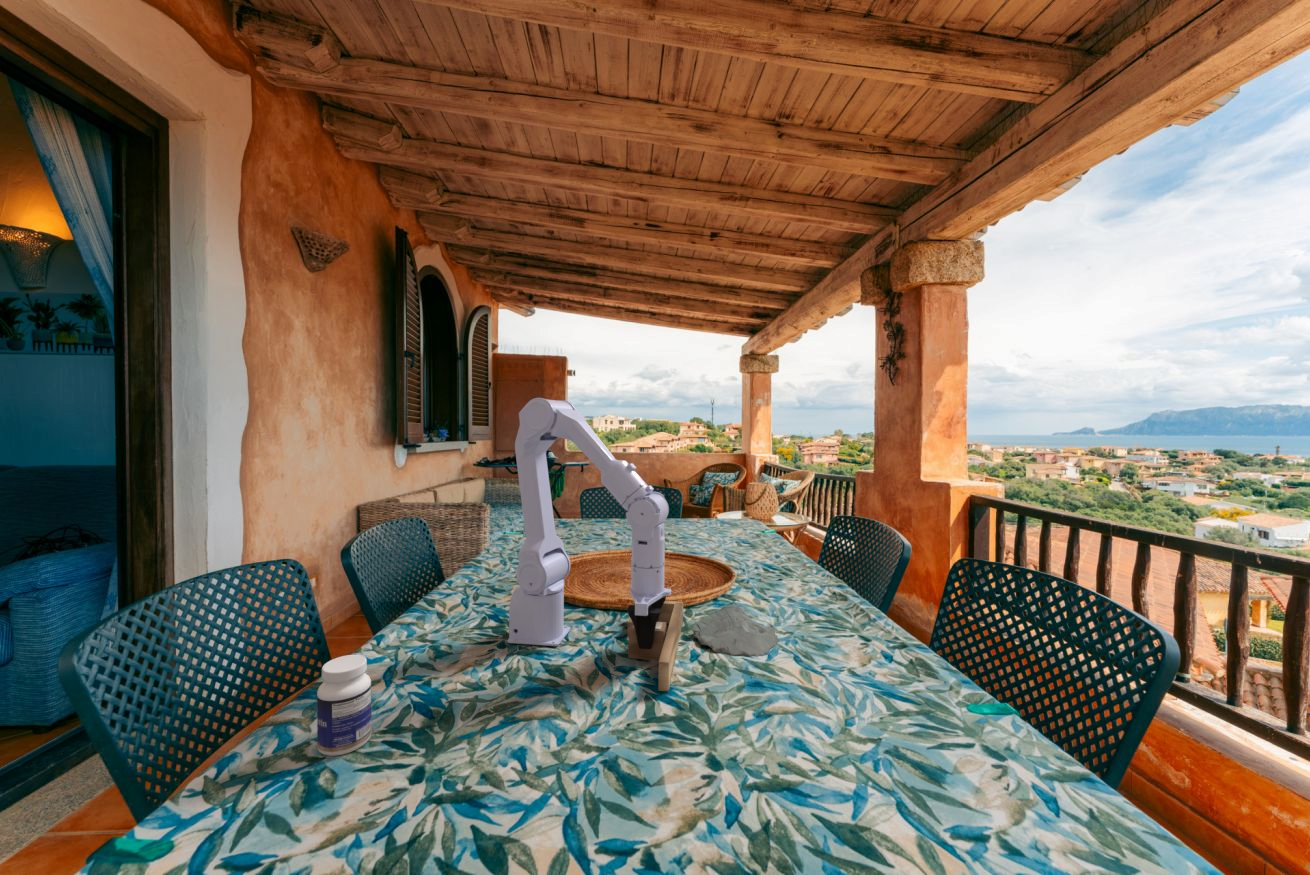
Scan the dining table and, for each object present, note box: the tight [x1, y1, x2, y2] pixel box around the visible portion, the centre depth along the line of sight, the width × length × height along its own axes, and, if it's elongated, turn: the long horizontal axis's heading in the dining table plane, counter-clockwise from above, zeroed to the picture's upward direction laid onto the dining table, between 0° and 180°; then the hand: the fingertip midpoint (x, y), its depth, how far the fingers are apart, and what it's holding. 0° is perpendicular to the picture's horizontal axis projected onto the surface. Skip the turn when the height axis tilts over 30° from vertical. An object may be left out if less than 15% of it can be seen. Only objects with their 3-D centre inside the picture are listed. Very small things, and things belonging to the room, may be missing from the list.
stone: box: [692, 604, 779, 658], centre depth 94 cm, size 16×4×15 cm
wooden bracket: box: [626, 600, 684, 692], centre depth 89 cm, size 10×28×4 cm, turn 172°
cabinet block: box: [627, 622, 667, 661], centre depth 88 cm, size 6×4×5 cm, turn 82°
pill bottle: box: [316, 654, 373, 757], centre depth 62 cm, size 6×6×10 cm
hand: (647, 642), depth 88 cm, fingers open, 4 cm apart
